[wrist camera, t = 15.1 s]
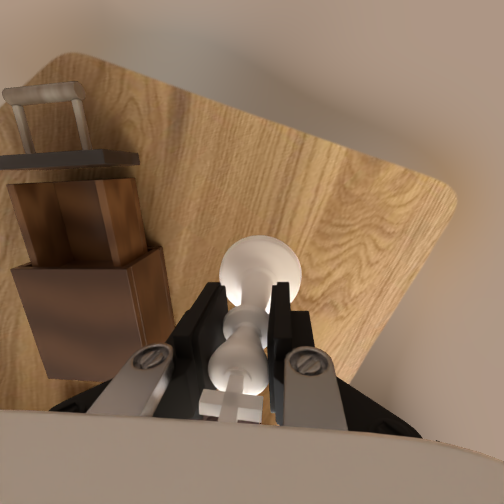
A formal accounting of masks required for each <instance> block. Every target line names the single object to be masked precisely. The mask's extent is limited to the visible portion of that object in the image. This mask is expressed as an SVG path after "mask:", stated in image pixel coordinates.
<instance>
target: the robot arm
mask: <svg viewBox="0 0 504 504" xmlns="http://www.w3.org/2000/svg"><path fill="white" fill-rule="evenodd" d="M227 313H228V306H227V296H226V287H225V285H221V283H220V282H208V283H207V284H206V286H205V287H204V289H203V290H202V292H201V294H200V295H199V297H198V298H197V300H196V301H195V303H194V304H193V306H192V307H191V309H190V310H187V311H186V312H185V314H184V315H183V317H182V318H181V320H180V321H179V323H178V324H177V326H176V327H175V329H174V330H173V332H172V333H171V334H170V336H169V337H168V339H167V340H166V342H165V343H153V344H149V345H146V346H144V347H142V348H140V349H138V350H137V351H135V352H134V353H133V354H132V355H131V356H130V358H129V359H128V360H127V361H126V363H125V364H124V365H123V366H122V368H121V369H120V370H119V372H118V373H117V374H116V375H115V377H114V378H112V379H110V380H108V381H106V382H104V383H102V384H99V385H97V386H95V387H93V388H91V389H89V390H87V391H85V392H82V393H80V394H78V395H76V396H74V397H72V398H70V399H68V400H65V401H63V402H61V403H60V404H58V405H56V406H54V407H53V408H51V409H50V410H49V411H35V410H0V504H504V461H502V460H499V459H496V458H493V457H491V456H488V455H486V454H483V453H480V452H477V451H473V450H470V449H466V448H462V447H458V446H455V445H451V444H447V443H442V442H439V441H437V440H436V441H431V440H427V439H423V438H422V437H421V435H420V434H419V433H418V432H417V431H416V430H415V429H414V428H413V427H411V426H410V425H409V424H407V423H406V422H405V421H403V420H402V419H400V418H399V417H397V416H396V415H394V414H393V413H391V412H390V411H388V410H386V409H385V408H383V407H382V406H381V405H379V404H378V403H376V402H374V401H373V400H371V399H370V398H368V397H367V396H365V395H364V394H362V393H361V392H359V391H358V390H356V389H355V388H353V387H351V386H350V385H349V384H347V383H346V382H344V381H343V380H341V379H340V378H338V377H336V374H335V369H334V365H333V362H332V359H331V357H330V356H329V355H328V354H327V353H326V352H324V351H322V350H321V349H318V348H315V345H314V339H313V333H312V327H311V321H310V315H309V311H291V308H290V285H289V282H277V285H272V292H271V302H270V312H269V321H268V331H267V353H268V372H269V391H270V410H271V413H275V415H276V422H277V424H279V425H280V426H274V425H260V424H246V423H232V422H217V421H202V419H203V416H204V415H200V414H199V400H200V397H201V395H202V392H203V389H209V390H216V389H217V388H216V387H215V386H214V384H213V383H212V381H211V380H210V377H209V374H208V363H209V360H210V358H211V356H212V354H213V353H214V352H215V351H216V350H217V348H218V347H219V346H220V345H222V344H223V343H224V342H225V341H226V338H225V336H224V333H223V320H224V317H225V315H226V314H227ZM189 419H201V420H189Z"/></svg>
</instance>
